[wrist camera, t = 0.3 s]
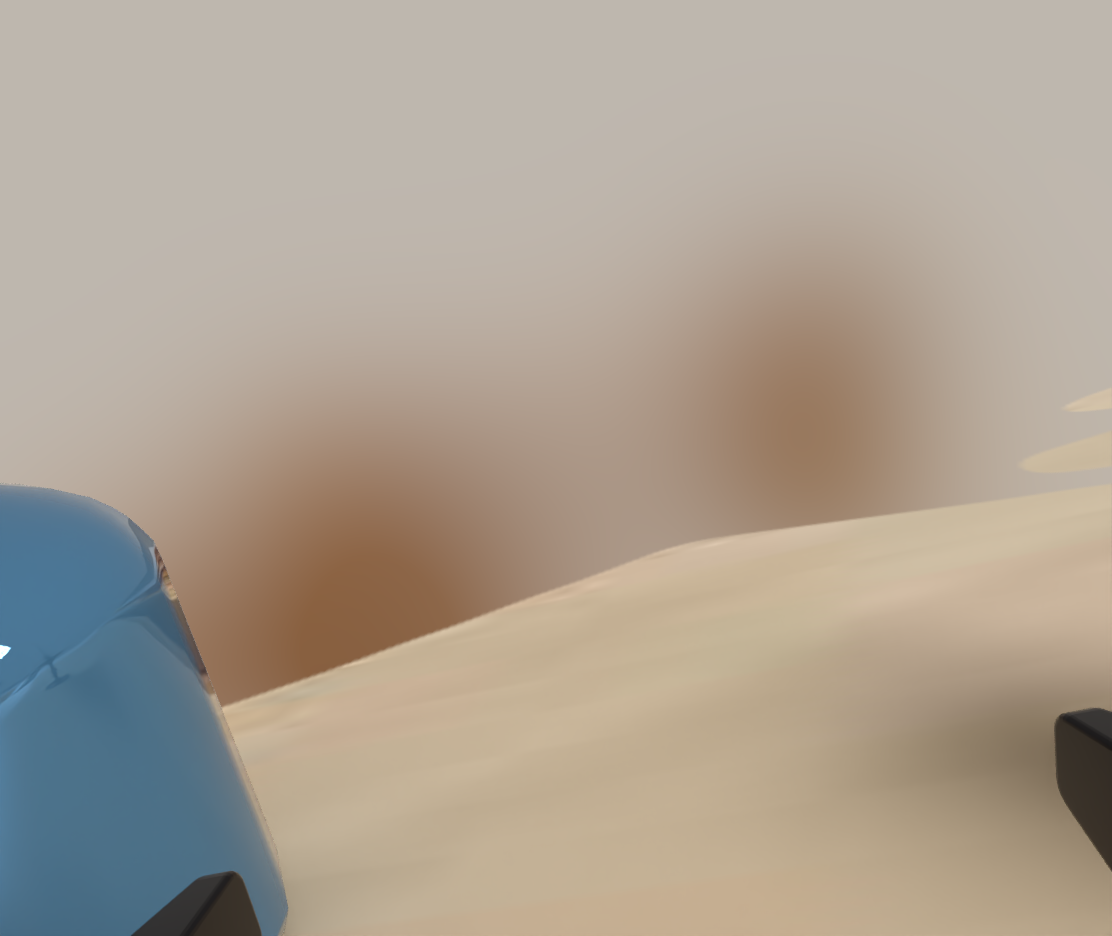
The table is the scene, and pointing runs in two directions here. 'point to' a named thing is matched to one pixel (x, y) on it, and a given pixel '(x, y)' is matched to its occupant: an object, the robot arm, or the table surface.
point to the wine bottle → (110, 733)
